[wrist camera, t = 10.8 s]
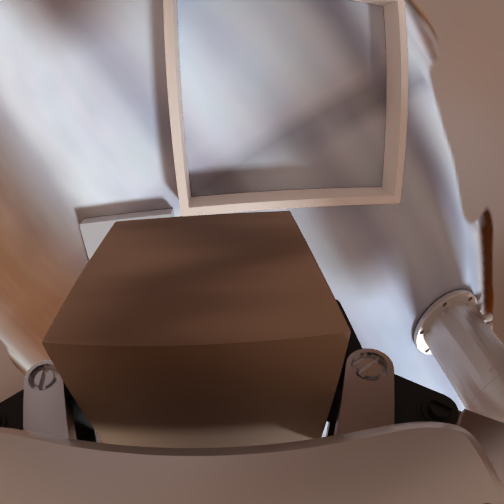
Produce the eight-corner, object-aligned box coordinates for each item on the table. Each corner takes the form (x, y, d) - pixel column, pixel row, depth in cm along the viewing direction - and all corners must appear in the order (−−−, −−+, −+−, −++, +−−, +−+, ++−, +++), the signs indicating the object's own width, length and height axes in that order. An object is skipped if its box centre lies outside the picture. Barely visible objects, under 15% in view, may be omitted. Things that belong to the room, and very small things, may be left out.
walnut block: (289, 211, 11) (350, 331, 6) (283, 341, 14) (311, 464, 9) (115, 221, 10) (41, 342, 5) (146, 347, 13) (126, 469, 8)
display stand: (172, 208, 32) (170, 213, 30) (186, 290, 37) (185, 298, 35) (84, 218, 31) (79, 224, 30) (106, 295, 36) (103, 303, 35)
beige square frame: (389, 1, 23) (403, -5, 20) (387, 193, 33) (399, 203, 30) (168, -8, 21) (162, -17, 19) (184, 205, 32) (181, 216, 29)
